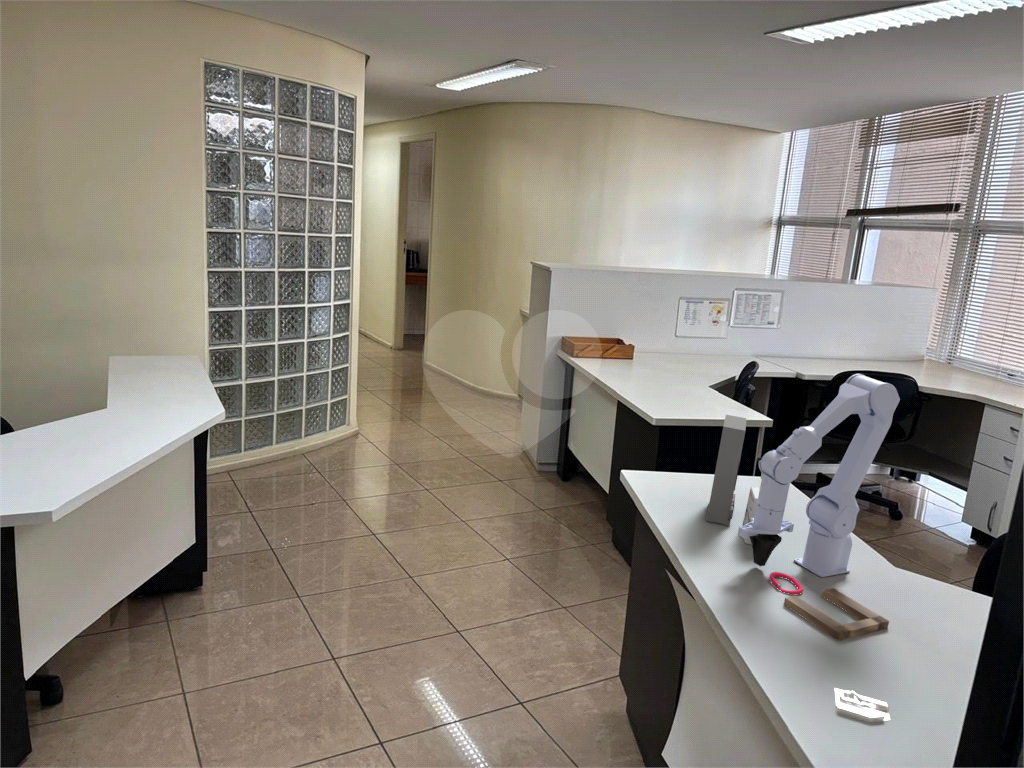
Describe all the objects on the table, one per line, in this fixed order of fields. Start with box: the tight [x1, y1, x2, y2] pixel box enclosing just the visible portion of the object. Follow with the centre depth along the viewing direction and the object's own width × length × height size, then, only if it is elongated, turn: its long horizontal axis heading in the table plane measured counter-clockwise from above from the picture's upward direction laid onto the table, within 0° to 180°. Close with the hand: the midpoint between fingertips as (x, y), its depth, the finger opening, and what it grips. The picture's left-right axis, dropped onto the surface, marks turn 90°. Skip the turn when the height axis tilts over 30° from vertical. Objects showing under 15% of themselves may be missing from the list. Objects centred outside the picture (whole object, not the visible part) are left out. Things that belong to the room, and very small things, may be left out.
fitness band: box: [768, 571, 804, 595], centre depth 152 cm, size 8×6×2 cm
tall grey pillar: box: [705, 414, 747, 526], centre depth 185 cm, size 14×6×25 cm, turn 161°
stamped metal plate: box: [833, 687, 891, 723], centre depth 114 cm, size 8×7×2 cm
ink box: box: [741, 486, 760, 546], centre depth 173 cm, size 9×5×12 cm, turn 168°
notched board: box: [783, 587, 890, 641], centre depth 141 cm, size 14×13×2 cm
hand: (759, 563), depth 158 cm, fingers closed
